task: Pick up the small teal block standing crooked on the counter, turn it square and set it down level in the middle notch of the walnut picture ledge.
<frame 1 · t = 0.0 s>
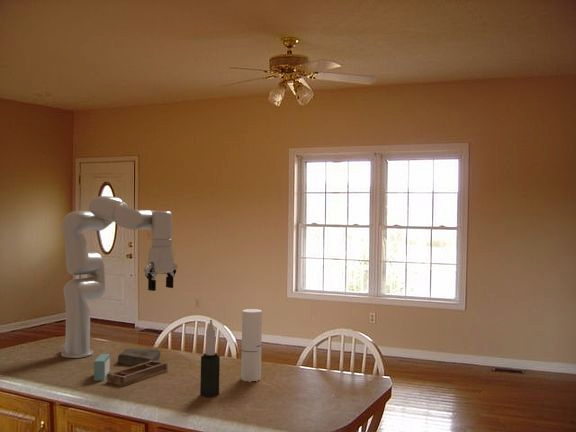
hand: (160, 289, 213), 31 cm above the counter, tool pointing down, fingers open, 9 cm apart
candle: (209, 395, 188), on the counter
cylindrical container: (250, 379, 207), on the counter
ledge: (138, 376, 207), on the counter
marble piece: (139, 363, 227), on the counter
teal block: (102, 376, 206), on the counter
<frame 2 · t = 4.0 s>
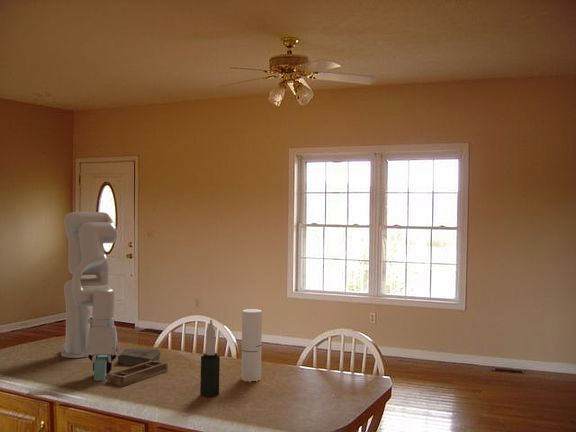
hand: (102, 372, 206), 1 cm above the counter, tool pointing down, fingers closed on teal block, 3 cm apart
teal block: (102, 376, 206), on the counter, touching gripper
everything else where it was.
when the fingers open (4 cm above the counter, at t = 8.9 s): teal block drops 1 cm, resting on ledge.
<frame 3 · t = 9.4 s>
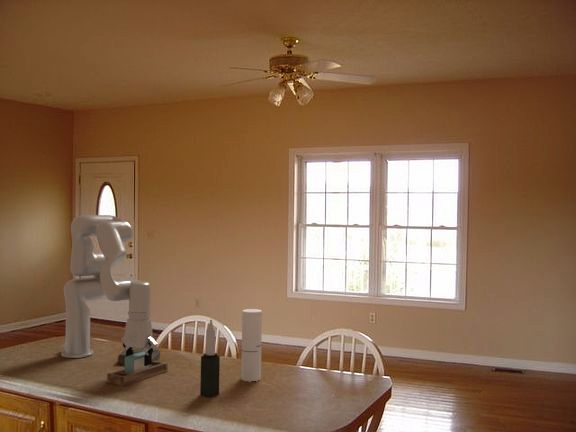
hand: (138, 363, 207), 5 cm above the counter, tool pointing down, fingers open, 8 cm apart
teal block: (138, 373, 207), point 1 cm above the counter, touching ledge
everything else where it was.
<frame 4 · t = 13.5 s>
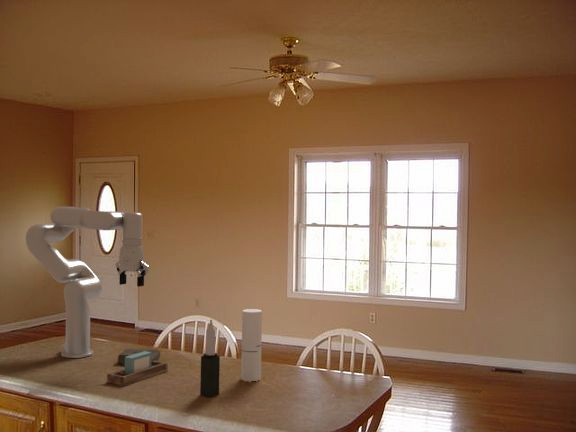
hand: (131, 285, 229), 30 cm above the counter, tool pointing down, fingers open, 9 cm apart
nothing on the counter moved.
at the end: teal block 0.1 cm off-centre on the ledge, point 1.0 cm above the ledge's base; teal block tilted 0°; the gripper is holding nothing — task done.
